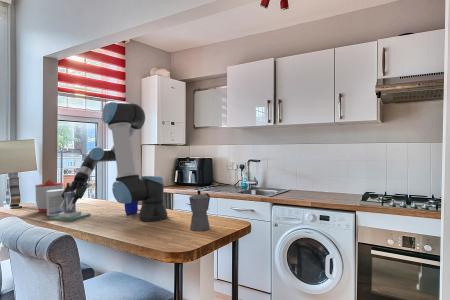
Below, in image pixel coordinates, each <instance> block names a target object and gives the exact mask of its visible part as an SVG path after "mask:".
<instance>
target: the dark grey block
mask: <svg viewBox="0 0 450 300" xmlns="http://www.w3.org/2000/svg"><path fill="white" fill-rule="evenodd" d="M75 193H76V191H74V192H66V193H64V209H65V213H74V212H76V211H77V208H76V207H77V206H76V203H75V204H74V205H73V207H72V209H71V210H70V209H69V208H68V205H69V203H70V202H71V200H72V198H73V197H74V196H75ZM74 198H75V197H74Z"/></svg>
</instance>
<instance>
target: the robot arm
mask: <svg viewBox="0 0 450 300" xmlns="http://www.w3.org/2000/svg"><path fill="white" fill-rule="evenodd" d="M101 114H102V115H101V119H102V121H103V123H104V124H106V125H107V127H108V129H109V130H111V135H112V142H113V145H112V147H111V148H110V149H108V148H107V149H103V148H101V147H100V146H95V147H93V148H91V150H89V151H88V154H86V156H85V157H84V159H83V162H81V165H80V167H79V168H78V170H77V171H76V174H75V176H74V178H73V180H72V181H71V182H67V183H66V185H65V188H64V189H63V190H64V192H63V194H62V195H61V196H62V197H63V200H62V202H61V205H60V208H61V209H62V210H63V209H64V193H66V192H75V196H74V197H75V198H74V197H73V198H72V200H71V202H70V203H69V205H68V208H69V209H70V210H71V209H72V207H73V205H74V204H76V203H77V202H78V200H79V199H80V200H81V199H82V198H83V197H84V195H85V193H86V192H87V189H88V188H89V187H90V184H89V183H88V181H89V179H90V177H91V175H92V174H93V171H94V170H95V167H96V166H97V165H98V163H101V162H115V164H116V169H117V175H116V177H115V181H114V182H113V183H112V188H111V190H112V195H113V197H114V199H115V201H116V202H117V203H119V204H124V203H131V202H138V203H139V202H141V207H140V209H141V210H140V209H139V210H140V211H139V214H138V219H139V221H143V222H156V221H162V220H165V219H167V218H168V211H167V208H166V205H165V199H164V198H165V190H164V189H165V188H164V186H165V185H164V184H165V183H164V178H163V177H162V176H156V175H154V176H153V175H141V177H140V174H138V173H137V172H136V167H135V161H134V155H133V148H132V140H133V139H134V137H135V136H136V134H137V132H138V131H139V130H141V129H142V127H143V126H144V124H145V121H146V113H145V110H144V109H143V108H142V107H141V106H140V105H139V104H138V103H134V102H133V103H132V102H125V101H107V102H105V105H104V106H103V109H102V113H101Z"/></svg>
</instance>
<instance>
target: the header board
mask: <svg viewBox="0 0 450 300" xmlns="http://www.w3.org/2000/svg"><path fill="white" fill-rule="evenodd" d="M90 216H92V214H91V213H86V212H84V213H83V212H82V211H81V210H76V212H74V213H65V212H62V213H59V215H57V216H48V220H49V221H59V222H60V221H61V222H62V221H63V222H75V221H77V220H80V219H84V218H87V217H90Z"/></svg>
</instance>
